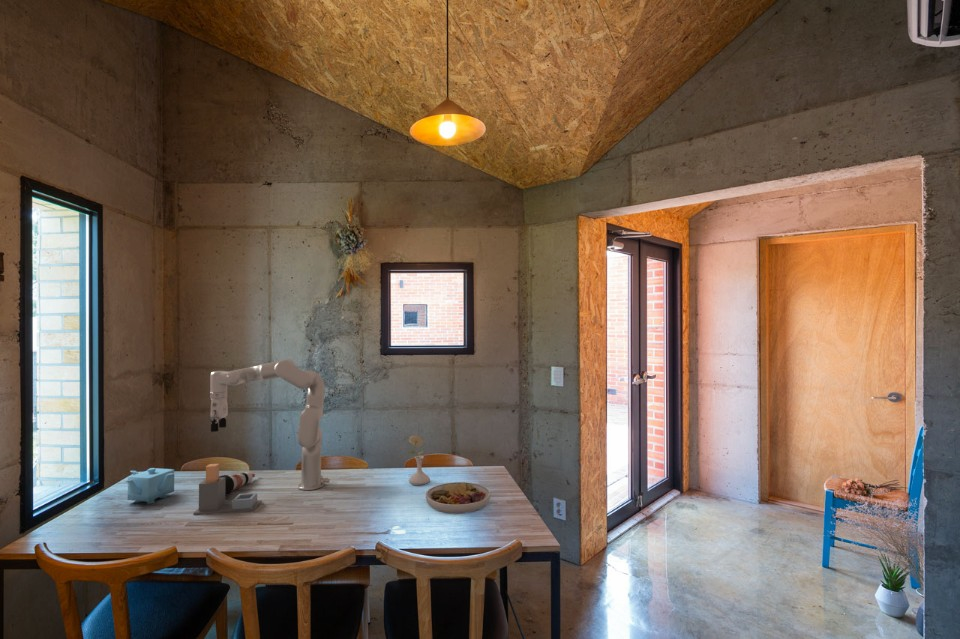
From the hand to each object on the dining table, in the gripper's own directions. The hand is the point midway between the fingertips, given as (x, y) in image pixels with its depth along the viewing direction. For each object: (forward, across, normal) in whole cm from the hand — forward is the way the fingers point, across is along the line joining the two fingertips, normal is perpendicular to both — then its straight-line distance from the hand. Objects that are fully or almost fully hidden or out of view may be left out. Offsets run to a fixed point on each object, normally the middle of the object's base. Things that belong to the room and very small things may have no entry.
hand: (218, 429), depth 231 cm
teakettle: (+32, -7, +28) cm, 43 cm away
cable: (+32, 0, -7) cm, 32 cm away
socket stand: (+31, -24, -14) cm, 42 cm away
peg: (+21, -24, -7) cm, 33 cm away
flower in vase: (+31, -4, -100) cm, 105 cm away
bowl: (+32, -35, -118) cm, 127 cm away
